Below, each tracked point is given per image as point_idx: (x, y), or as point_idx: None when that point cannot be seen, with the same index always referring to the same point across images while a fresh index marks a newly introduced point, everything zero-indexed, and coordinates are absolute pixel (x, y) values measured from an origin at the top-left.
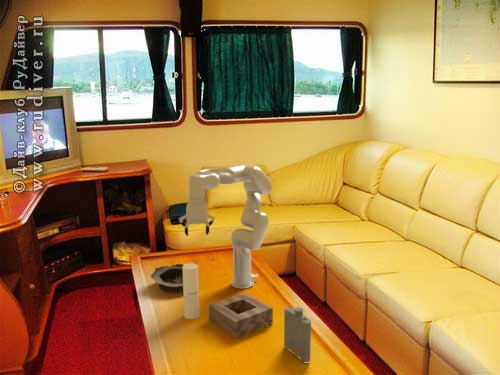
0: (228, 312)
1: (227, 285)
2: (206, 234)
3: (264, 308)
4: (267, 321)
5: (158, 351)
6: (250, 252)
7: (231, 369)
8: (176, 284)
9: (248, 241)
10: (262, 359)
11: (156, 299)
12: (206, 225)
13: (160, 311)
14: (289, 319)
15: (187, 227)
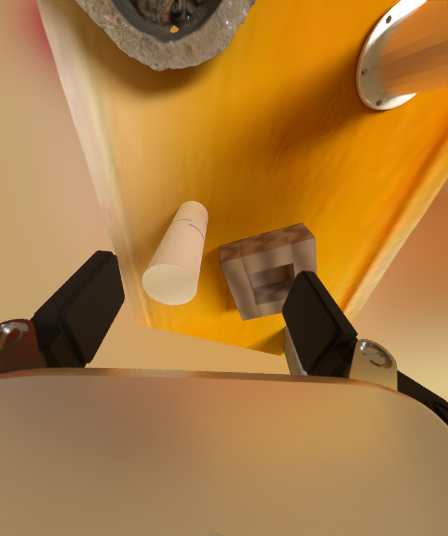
0: (243, 296)
1: (350, 43)
2: (283, 307)
3: None
4: None
5: (134, 296)
6: None
7: (213, 340)
8: (158, 46)
9: None
10: (250, 336)
11: (103, 74)
12: (333, 361)
13: (125, 170)
14: (296, 371)
15: (74, 361)
